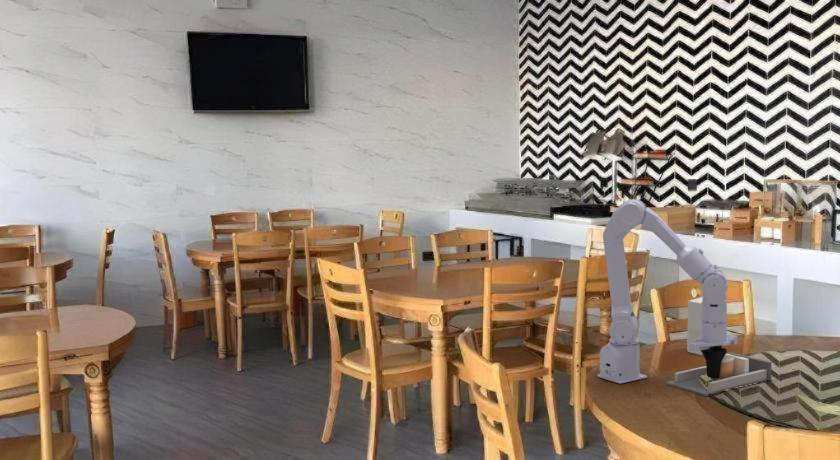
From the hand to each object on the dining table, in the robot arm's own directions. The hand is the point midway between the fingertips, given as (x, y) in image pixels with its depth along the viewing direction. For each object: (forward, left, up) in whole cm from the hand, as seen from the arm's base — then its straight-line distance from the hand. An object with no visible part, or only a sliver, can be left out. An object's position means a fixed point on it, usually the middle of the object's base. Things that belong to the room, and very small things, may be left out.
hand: (713, 377), depth 190 cm
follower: (+7, 0, -1) cm, 7 cm away
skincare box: (+23, +22, -2) cm, 32 cm away
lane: (+2, 0, -2) cm, 2 cm away
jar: (+3, 0, -1) cm, 3 cm away
